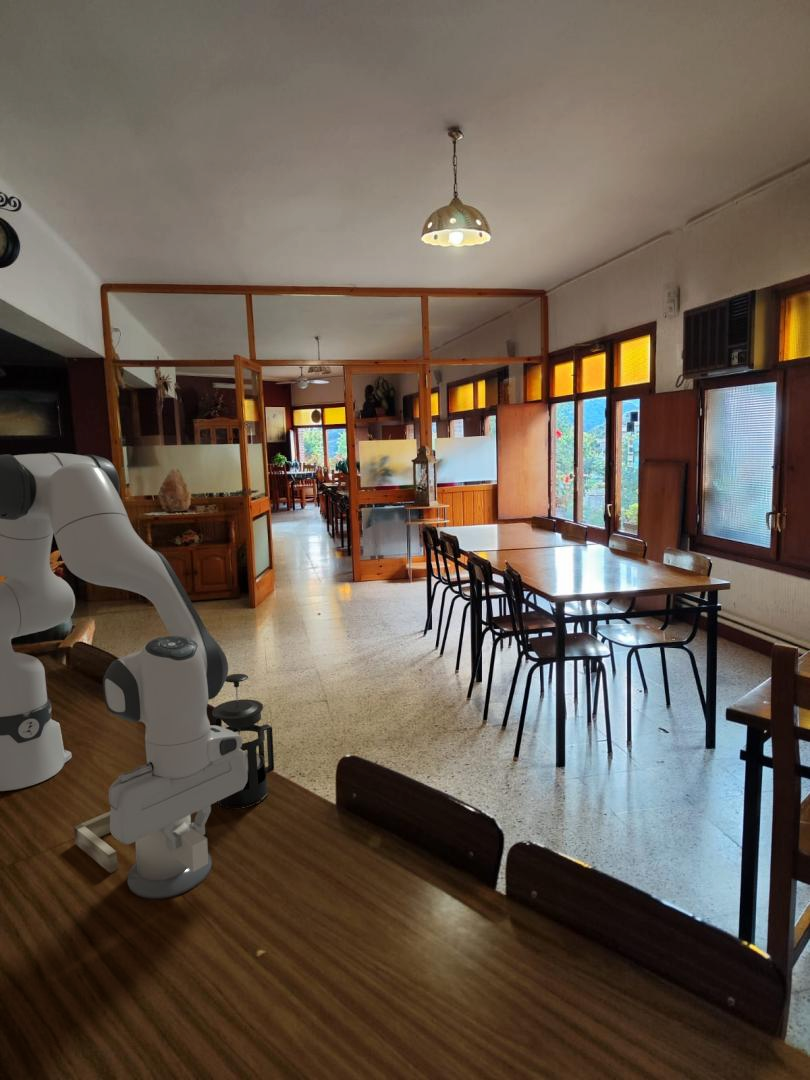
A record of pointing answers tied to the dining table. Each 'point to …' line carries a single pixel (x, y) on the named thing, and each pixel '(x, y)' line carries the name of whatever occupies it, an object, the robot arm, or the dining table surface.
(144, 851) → the white handled cylinder
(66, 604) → the robot arm
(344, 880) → the dining table surface
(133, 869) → the mat
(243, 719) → the french press
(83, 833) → the stand
